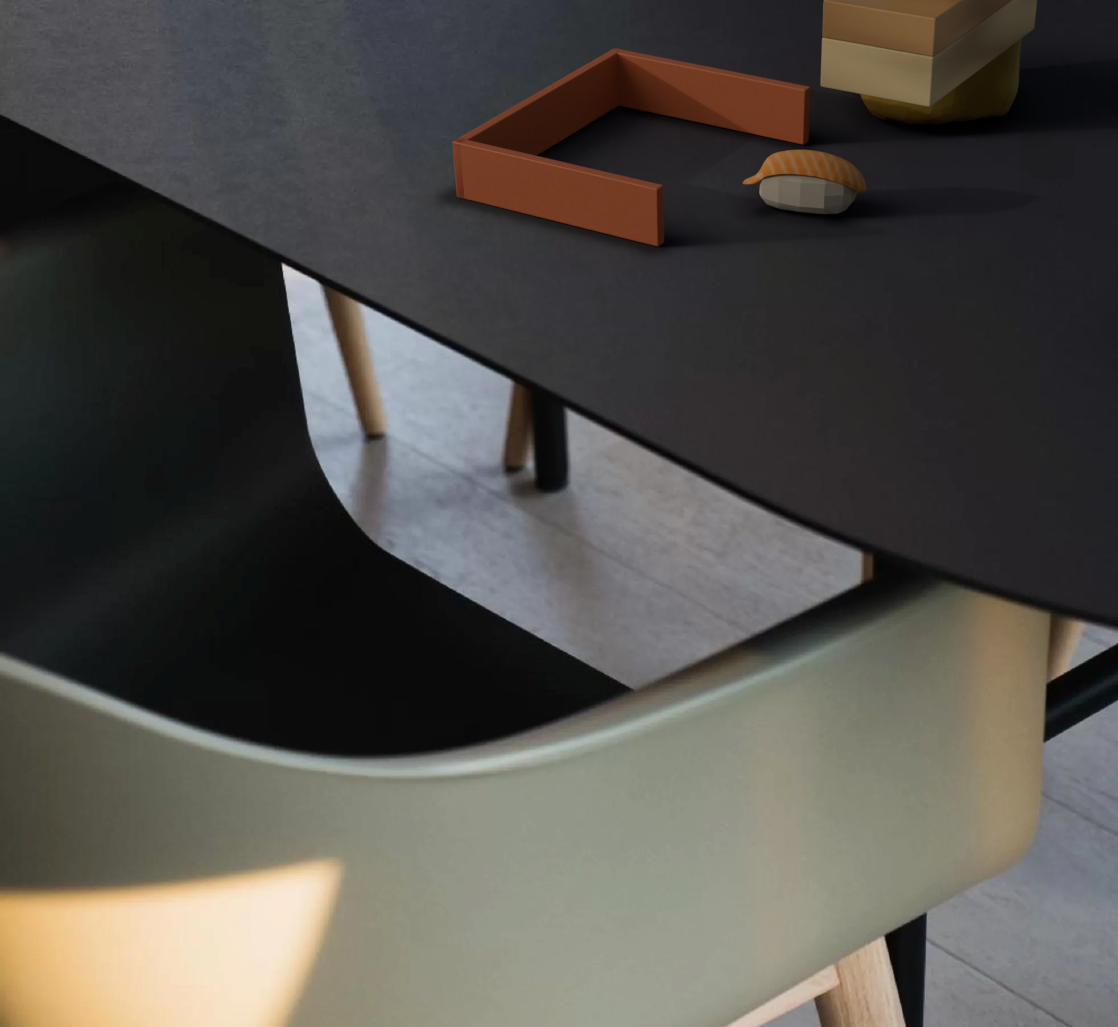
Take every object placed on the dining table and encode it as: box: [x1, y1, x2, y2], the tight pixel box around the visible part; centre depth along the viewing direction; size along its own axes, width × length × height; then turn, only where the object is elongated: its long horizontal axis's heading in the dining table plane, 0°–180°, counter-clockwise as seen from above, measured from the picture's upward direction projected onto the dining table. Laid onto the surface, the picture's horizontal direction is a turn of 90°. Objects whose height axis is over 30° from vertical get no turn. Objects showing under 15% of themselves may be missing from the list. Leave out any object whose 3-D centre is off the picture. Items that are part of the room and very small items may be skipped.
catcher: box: [452, 47, 811, 247], centre depth 109 cm, size 13×15×3 cm
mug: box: [860, 37, 1023, 125], centre depth 113 cm, size 12×10×10 cm
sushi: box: [742, 149, 867, 215], centre depth 104 cm, size 3×6×3 cm, turn 71°
